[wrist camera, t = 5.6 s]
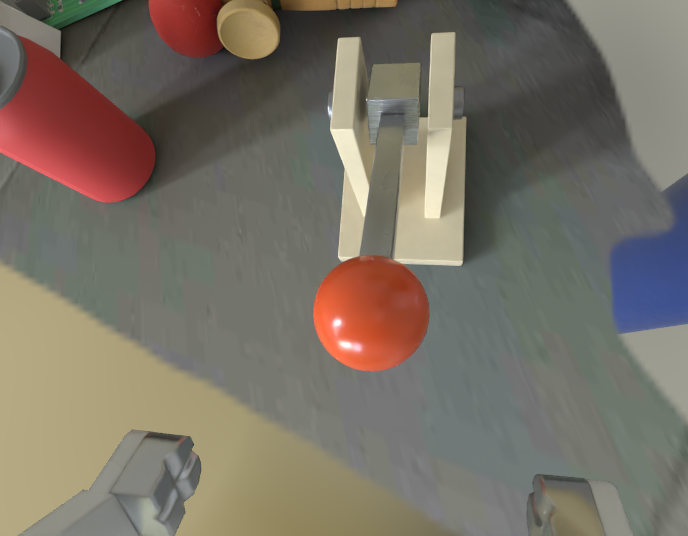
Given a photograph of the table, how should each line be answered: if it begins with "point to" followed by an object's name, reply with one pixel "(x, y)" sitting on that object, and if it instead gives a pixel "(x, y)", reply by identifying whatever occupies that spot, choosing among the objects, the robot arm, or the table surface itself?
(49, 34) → the figurine
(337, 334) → the lever
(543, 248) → the table surface
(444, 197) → the bracket
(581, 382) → the table surface
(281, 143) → the table surface
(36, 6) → the circuit board
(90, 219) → the table surface
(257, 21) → the kendama
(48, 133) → the beer can
